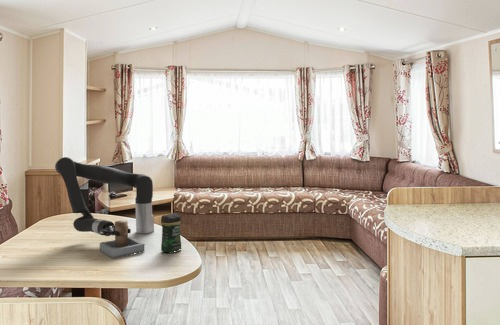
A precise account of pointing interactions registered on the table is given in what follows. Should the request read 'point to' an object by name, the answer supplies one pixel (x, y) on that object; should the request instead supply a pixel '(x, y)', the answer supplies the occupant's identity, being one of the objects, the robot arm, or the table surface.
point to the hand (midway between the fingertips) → (124, 232)
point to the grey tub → (117, 252)
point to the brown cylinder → (121, 233)
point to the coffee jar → (171, 232)
